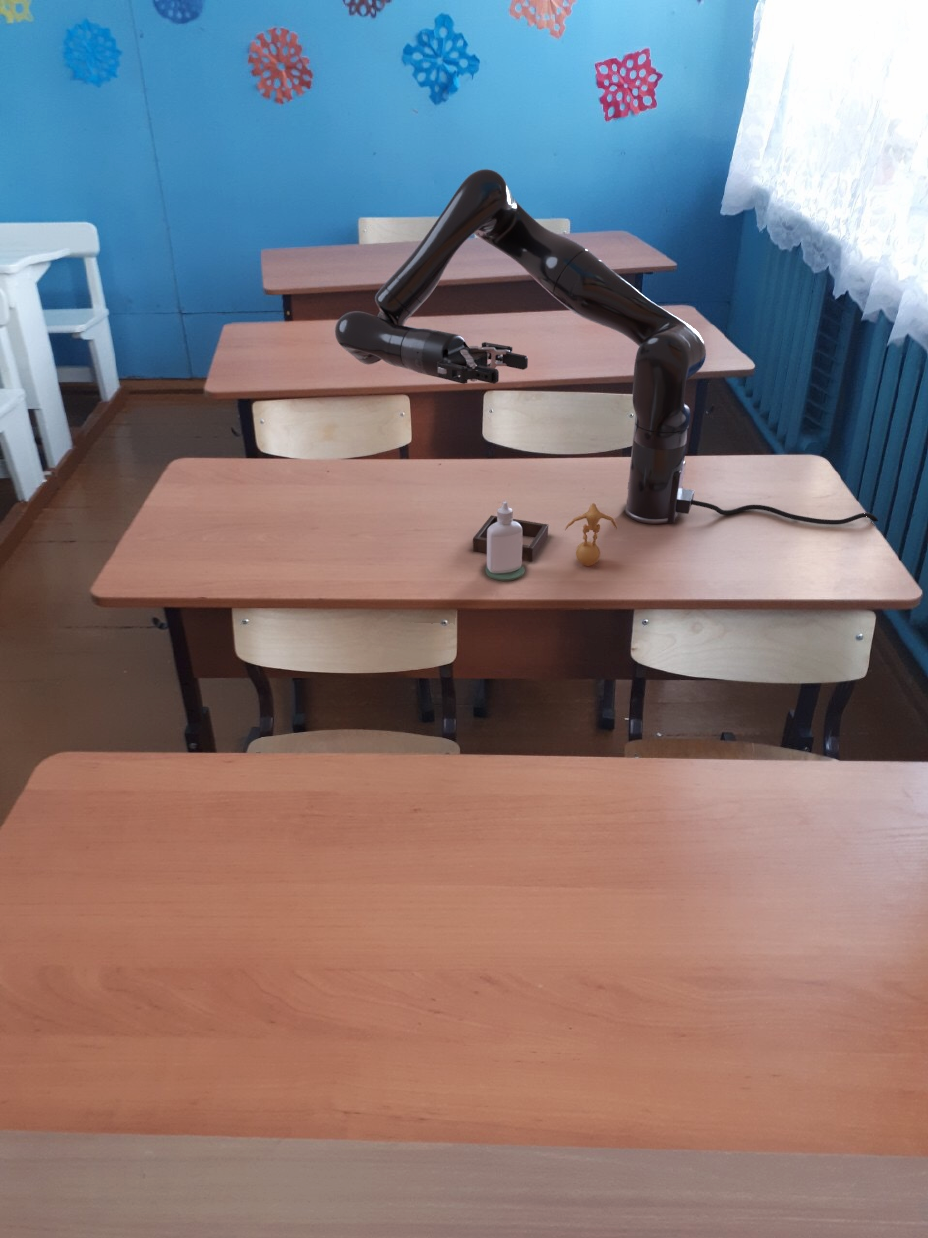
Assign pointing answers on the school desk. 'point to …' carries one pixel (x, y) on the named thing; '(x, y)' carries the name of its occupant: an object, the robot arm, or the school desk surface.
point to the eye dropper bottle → (504, 543)
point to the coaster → (506, 574)
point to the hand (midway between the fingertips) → (512, 369)
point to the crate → (527, 529)
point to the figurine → (589, 550)
